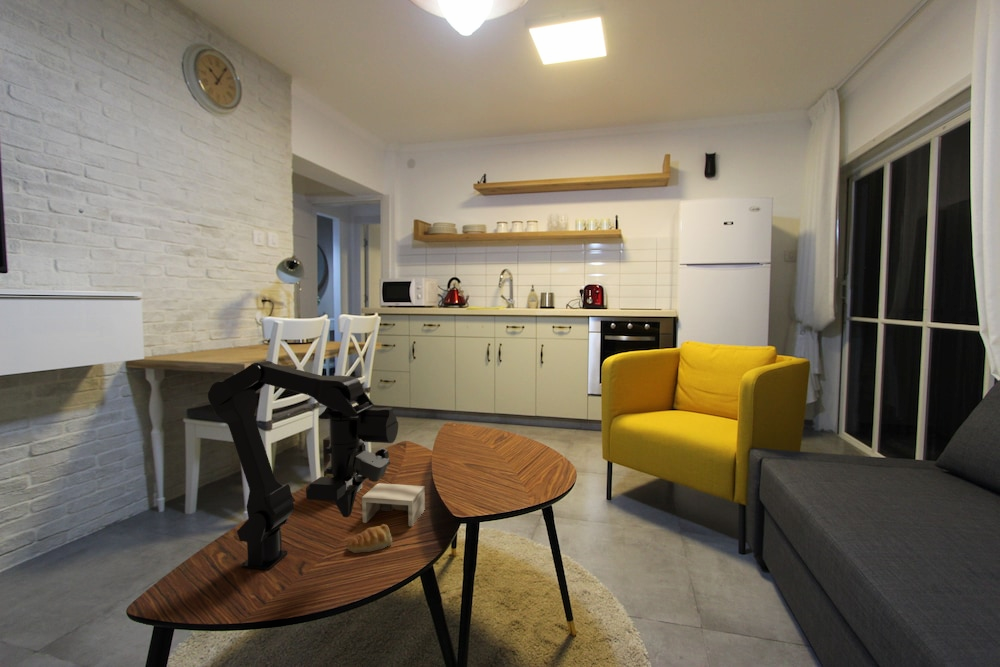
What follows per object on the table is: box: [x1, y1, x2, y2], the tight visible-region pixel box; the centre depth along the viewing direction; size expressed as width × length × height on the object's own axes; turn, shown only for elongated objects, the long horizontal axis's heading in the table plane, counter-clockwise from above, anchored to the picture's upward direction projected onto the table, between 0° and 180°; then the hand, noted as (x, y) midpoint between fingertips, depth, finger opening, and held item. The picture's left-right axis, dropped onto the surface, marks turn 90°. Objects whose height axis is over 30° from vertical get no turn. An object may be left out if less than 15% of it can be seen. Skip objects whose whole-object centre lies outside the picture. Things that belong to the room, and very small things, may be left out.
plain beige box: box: [361, 483, 426, 527], centre depth 114 cm, size 9×13×6 cm
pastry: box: [347, 523, 393, 554], centre depth 101 cm, size 9×7×4 cm
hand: (347, 516), depth 91 cm, fingers closed
